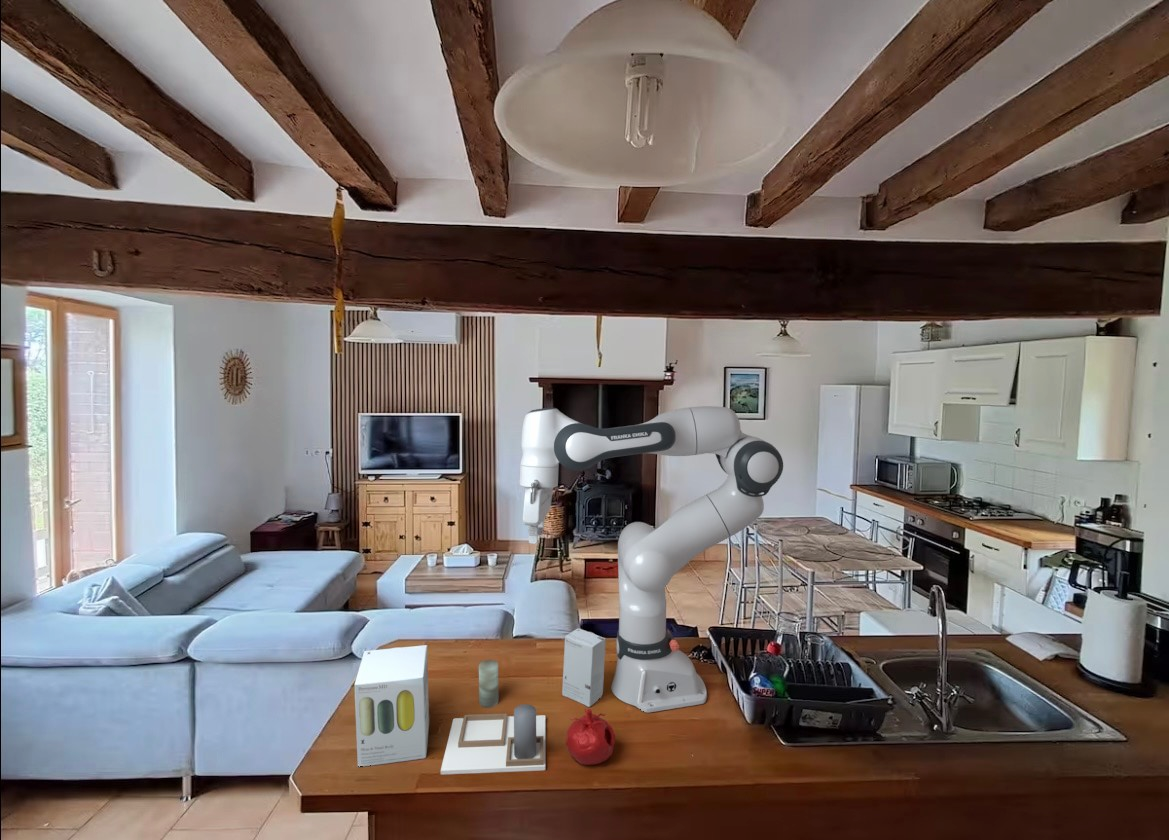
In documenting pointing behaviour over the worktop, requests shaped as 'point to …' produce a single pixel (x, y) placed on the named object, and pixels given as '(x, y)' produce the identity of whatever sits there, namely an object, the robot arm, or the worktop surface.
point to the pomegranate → (590, 739)
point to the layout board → (496, 743)
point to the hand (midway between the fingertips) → (536, 538)
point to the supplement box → (392, 705)
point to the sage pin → (488, 683)
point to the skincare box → (583, 666)
